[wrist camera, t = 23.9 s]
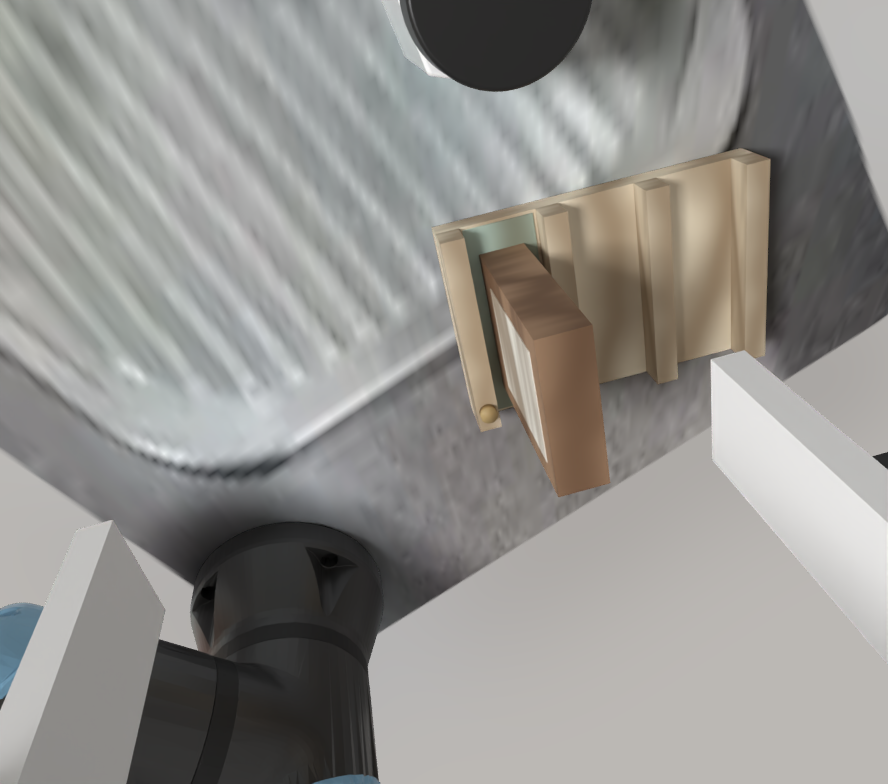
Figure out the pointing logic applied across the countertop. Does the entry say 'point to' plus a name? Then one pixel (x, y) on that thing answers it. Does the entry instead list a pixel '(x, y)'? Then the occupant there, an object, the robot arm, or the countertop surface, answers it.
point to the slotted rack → (627, 269)
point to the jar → (487, 38)
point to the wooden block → (548, 367)
